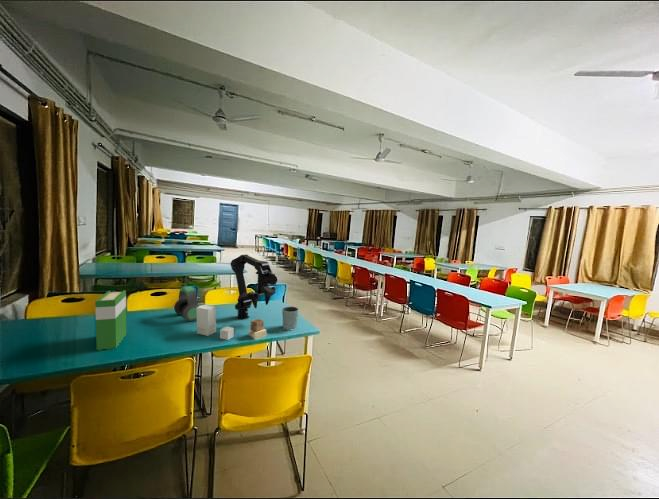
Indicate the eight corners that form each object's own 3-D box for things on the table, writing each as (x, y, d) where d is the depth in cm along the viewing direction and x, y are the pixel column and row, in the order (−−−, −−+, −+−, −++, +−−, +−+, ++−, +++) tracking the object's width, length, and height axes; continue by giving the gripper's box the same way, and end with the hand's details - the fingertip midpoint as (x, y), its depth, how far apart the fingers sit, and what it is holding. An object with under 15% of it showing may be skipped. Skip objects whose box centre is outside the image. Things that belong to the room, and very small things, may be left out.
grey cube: (220, 338, 147) (220, 329, 147) (226, 334, 152) (226, 326, 151) (227, 340, 146) (228, 331, 145) (233, 336, 151) (233, 327, 150)
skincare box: (216, 332, 154) (216, 306, 152) (207, 336, 148) (208, 309, 146) (204, 329, 157) (205, 303, 155) (195, 333, 151) (196, 306, 149)
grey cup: (294, 331, 162) (295, 312, 161) (278, 329, 164) (279, 310, 163) (299, 325, 172) (300, 307, 171) (284, 323, 174) (285, 305, 173)
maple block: (248, 335, 153) (249, 328, 153) (259, 332, 158) (260, 326, 158) (255, 340, 148) (255, 333, 148) (266, 336, 153) (266, 330, 153)
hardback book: (109, 335, 142) (108, 290, 140) (126, 333, 145) (125, 290, 143) (96, 350, 126) (95, 301, 124) (116, 348, 129) (115, 300, 127)
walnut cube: (250, 329, 152) (250, 320, 152) (257, 326, 156) (257, 318, 156) (256, 331, 150) (257, 323, 149) (263, 329, 154) (263, 320, 153)
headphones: (202, 319, 170) (203, 289, 168) (184, 324, 162) (184, 291, 160) (190, 311, 183) (190, 283, 181) (172, 315, 175) (172, 285, 173)
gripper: (260, 287, 154) (259, 313, 155) (282, 281, 169) (281, 305, 171) (246, 283, 159) (246, 309, 161) (269, 278, 175) (268, 302, 177)
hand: (261, 306), depth 167 cm, fingers open, 9 cm apart
